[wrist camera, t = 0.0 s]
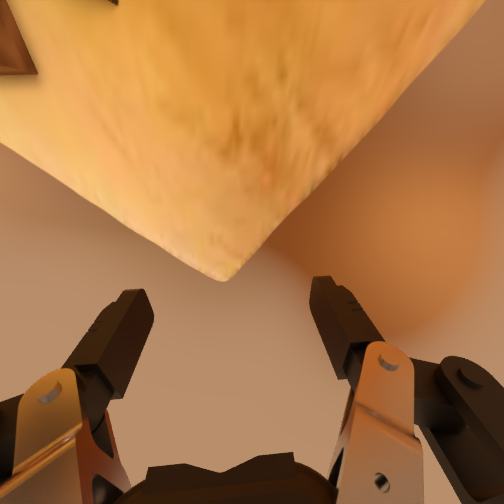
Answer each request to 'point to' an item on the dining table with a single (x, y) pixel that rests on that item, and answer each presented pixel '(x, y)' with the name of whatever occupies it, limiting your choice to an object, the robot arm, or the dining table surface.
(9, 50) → the walnut block
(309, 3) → the dining table surface
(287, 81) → the dining table surface
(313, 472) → the robot arm
